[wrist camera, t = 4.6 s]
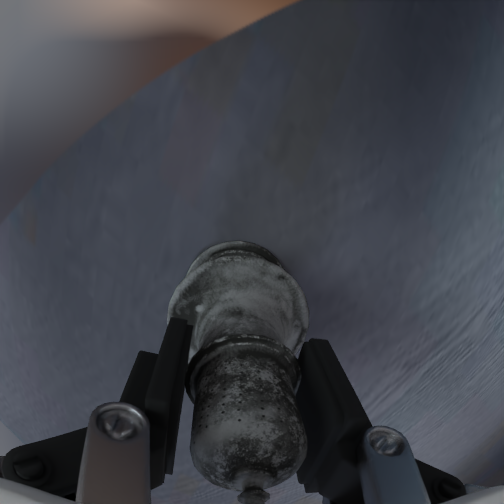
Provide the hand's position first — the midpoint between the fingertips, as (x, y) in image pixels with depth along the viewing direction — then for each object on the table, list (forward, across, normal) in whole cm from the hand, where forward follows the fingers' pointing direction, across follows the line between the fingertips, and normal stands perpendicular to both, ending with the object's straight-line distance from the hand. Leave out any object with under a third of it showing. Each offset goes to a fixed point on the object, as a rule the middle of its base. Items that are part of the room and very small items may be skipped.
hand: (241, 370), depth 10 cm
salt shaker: (+7, 0, 0) cm, 7 cm away
